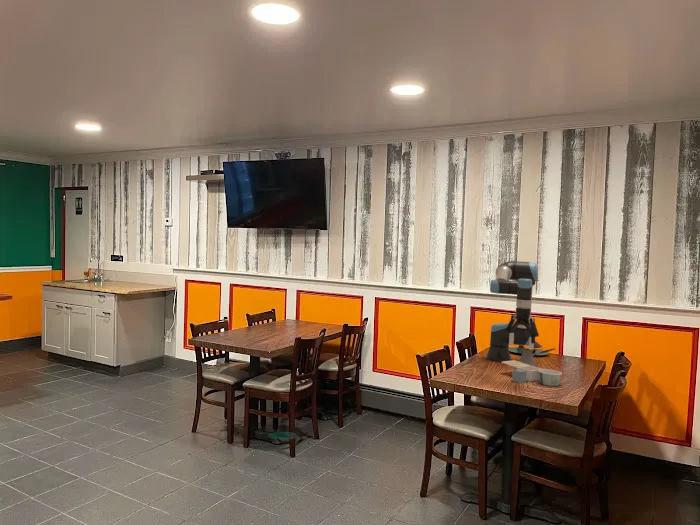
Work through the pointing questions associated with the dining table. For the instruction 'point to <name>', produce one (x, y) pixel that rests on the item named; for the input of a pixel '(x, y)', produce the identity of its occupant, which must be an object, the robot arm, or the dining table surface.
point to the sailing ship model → (536, 345)
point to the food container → (550, 377)
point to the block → (519, 376)
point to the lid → (514, 363)
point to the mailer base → (531, 373)
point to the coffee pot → (530, 356)
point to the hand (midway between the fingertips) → (520, 347)
